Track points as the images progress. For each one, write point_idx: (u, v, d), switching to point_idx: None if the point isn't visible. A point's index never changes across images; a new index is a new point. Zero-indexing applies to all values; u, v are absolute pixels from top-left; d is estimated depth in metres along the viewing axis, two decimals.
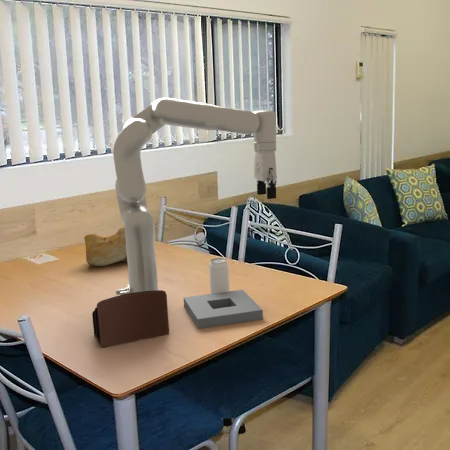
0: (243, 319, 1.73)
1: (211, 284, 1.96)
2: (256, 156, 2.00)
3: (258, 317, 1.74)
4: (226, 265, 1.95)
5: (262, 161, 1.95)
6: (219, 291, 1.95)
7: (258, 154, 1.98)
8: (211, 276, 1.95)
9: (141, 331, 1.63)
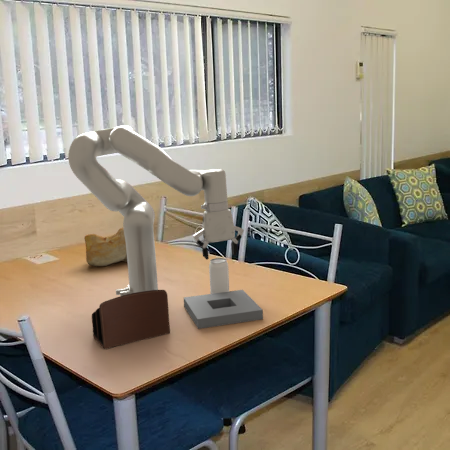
0: (243, 319, 1.73)
1: (211, 284, 1.96)
2: (214, 218, 1.90)
3: (258, 317, 1.74)
4: (226, 265, 1.95)
5: (230, 219, 1.91)
6: (219, 291, 1.95)
7: (221, 214, 1.90)
8: (211, 276, 1.95)
9: (143, 331, 1.63)
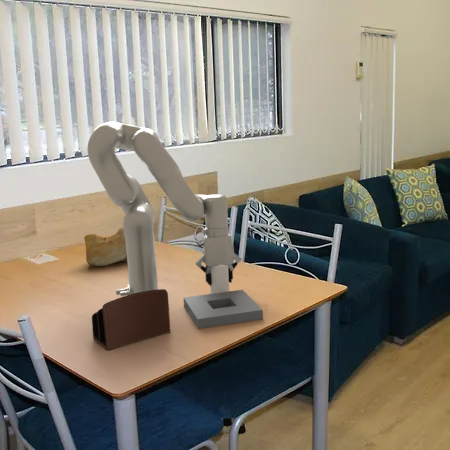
0: (243, 319, 1.73)
1: None
2: (214, 243, 1.91)
3: (258, 317, 1.74)
4: (226, 265, 1.95)
5: (230, 244, 1.93)
6: (219, 291, 1.95)
7: (222, 239, 1.92)
8: (211, 276, 1.95)
9: (144, 331, 1.63)
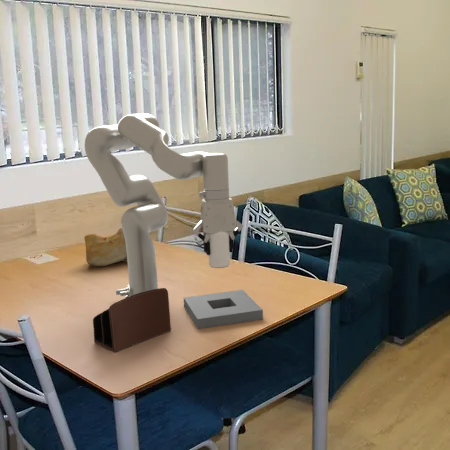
0: (243, 319, 1.73)
1: (210, 254, 1.76)
2: (213, 207, 1.71)
3: (258, 317, 1.74)
4: (226, 232, 1.74)
5: (231, 209, 1.73)
6: (219, 261, 1.75)
7: (221, 203, 1.72)
8: (210, 245, 1.75)
9: (148, 331, 1.63)
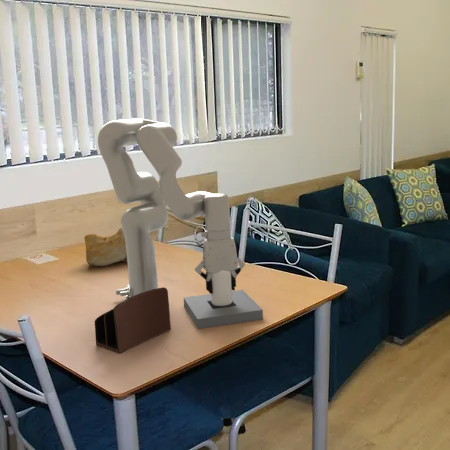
0: (243, 319, 1.73)
1: None
2: (215, 247, 1.74)
3: (258, 317, 1.74)
4: (228, 271, 1.77)
5: (233, 248, 1.75)
6: (221, 300, 1.77)
7: (223, 243, 1.74)
8: (212, 283, 1.77)
9: (150, 330, 1.63)
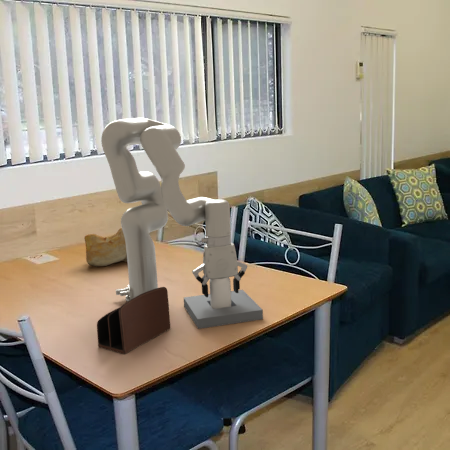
0: (243, 319, 1.73)
1: (212, 302, 1.79)
2: (216, 253, 1.74)
3: (258, 317, 1.74)
4: (228, 281, 1.78)
5: (233, 254, 1.76)
6: None
7: (224, 249, 1.75)
8: (212, 293, 1.78)
9: (152, 330, 1.63)
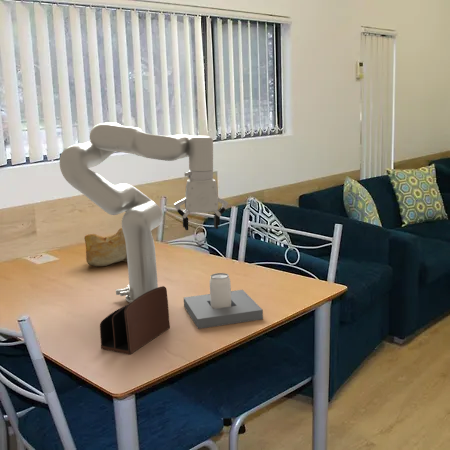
0: (243, 319, 1.73)
1: (212, 302, 1.79)
2: (197, 187, 1.80)
3: (258, 317, 1.74)
4: (228, 281, 1.78)
5: (214, 190, 1.82)
6: None
7: (205, 184, 1.80)
8: (212, 293, 1.78)
9: (154, 330, 1.64)
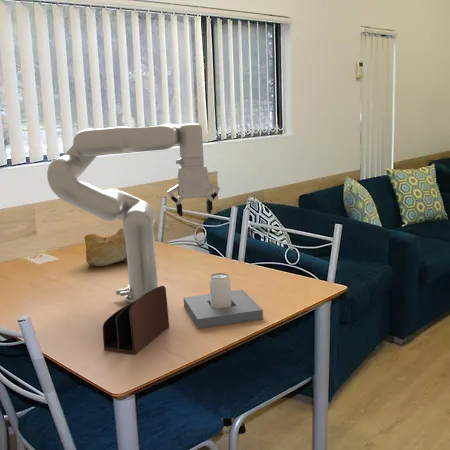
0: (243, 319, 1.73)
1: (212, 302, 1.79)
2: (189, 173, 1.85)
3: (258, 317, 1.74)
4: (228, 281, 1.78)
5: (206, 175, 1.87)
6: None
7: (196, 169, 1.86)
8: (212, 293, 1.78)
9: (155, 329, 1.64)
